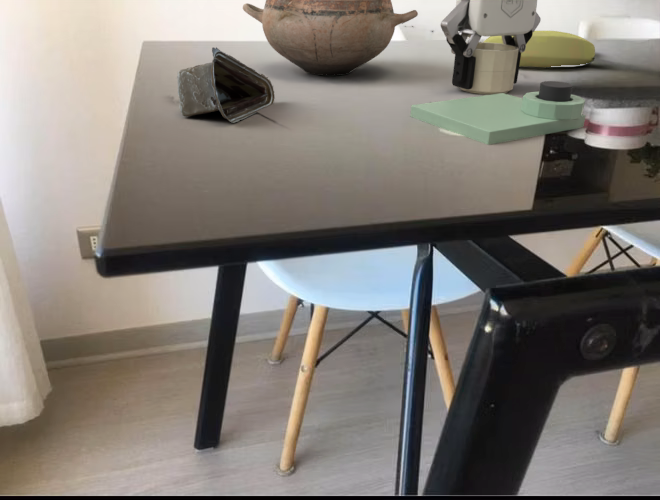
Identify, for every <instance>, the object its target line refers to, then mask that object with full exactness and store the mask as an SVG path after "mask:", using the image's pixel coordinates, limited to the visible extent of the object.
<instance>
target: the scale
mask: <svg viewBox="0 0 660 500" xmlns="http://www.w3.org/2000/svg"><path fill="white" fill-rule="evenodd" d="M538 96H539V91H531V92H530V91H529V92H526V93H525V94H524V95H523V96H522V97H519V96H515V95H512V94H508V93H500V94H492V95H490V94H484V95H478V96H471V97H462V98H456V99H448V100H441V101H440V100H439V101H432V102H425V103H417V104H411V105H410V115H409V117H411V118H413V119H415V120H418V121H421V122H424V123H426V124H429V125H432V126H435V127H437V128H440V129H444V130H446V131H449V132H451V133H454V134H456V135H460V136H462V137H465V138H469V139H471V140H473V141H476V142H479V143H482V144H484V145H487V146H490V145H494V144H495V145H496V144H500V143H507V142H512V141H516V140H517V141H518V140H521V139H527V138H533V137H539V136H544V135H549V134H554V133H560V132H566V131H571V130H576V129H581V128H584V126H585V121H586V117H587V115H586V114H584V110H585V103H586V99H585V98H583V97H581V96H579V95H575V94H571V97H570V101H568V102H554V101H546V100H542V99H538Z"/></svg>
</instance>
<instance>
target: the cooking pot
mask: <svg viewBox="0 0 660 500" xmlns="http://www.w3.org/2000/svg"><path fill="white" fill-rule="evenodd" d="M242 10H243V11H244V12H245V13H246V14H247V15H248V16H250V17H252V18H253V19H255V20H256V21H258V22H259V23H260V24H261V25H262V31H263V34H264V36H265V39H266V41H267V43H268V44H269V46H271V48H272V49H273V50H274V51H275V52H276V53H278V54H279V55H280V56H282V57H283V58H284V59H286V60H288V61H289V62H290V63H292V64H294V66H297V67H298V68H300V69H302V70H303V71H304V72H305V73H307V74H310V75H314V76H315V75H316V76H325V77H329V76H333V77H334V76H335V77H336V76H344V75H348V74H350V73H352V72H353V71H355V70H356V69H358V68H359V67H361V66H363V65H365V64H367V63H369V62H370V61H371V60H373V59H375V58H376V57H377V56H380V54H381V53H382V52H384V51H385V49H386V48H388V46H389V44H390V42H391V41H392V39H393V37H394V33H395V29H396V27H397V26H398V25H401V24H405V23H408V22H409V21H411V20H414V18H416V17H418V15H419V13H418V11H417V10H416V9H411V10H410V11H408V12H404V13H395V11H394V6H393V1H392V0H265V2H264V6H263V8H260V7H258V6H256V5H254V4H251V3H244V4H243V5H242Z"/></svg>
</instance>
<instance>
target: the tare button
mask: <svg viewBox="0 0 660 500" xmlns="http://www.w3.org/2000/svg"><path fill="white" fill-rule="evenodd" d="M538 90H539V96H538V99H542V100H546V101H554V102H568V101H570V97H571V95H572V92H573V85H572V83H569V82H564V81H557V80H556V81H555V80H545V81H542V82H540V85H539V89H538Z"/></svg>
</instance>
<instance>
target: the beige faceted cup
mask: <svg viewBox="0 0 660 500" xmlns="http://www.w3.org/2000/svg"><path fill="white" fill-rule="evenodd" d="M518 50H519V49H518V47H516V46H513V45H508V44H501V43H488V42H484V41H479V42H478V44H477V46H476V48H475V50H474V52H473V54H472V56H473V57H476V63H475V71H474V79H473V86H472V88H471V89H464V88H460V87H459V89H460V90H461V91H464V92H467V93H471V94H477V95H492V94H500V93H504V94H508V93H509V92H510V91H512V90H513V89H514V84H513V83H514V77H515V69H516V63H517V57H518Z"/></svg>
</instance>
